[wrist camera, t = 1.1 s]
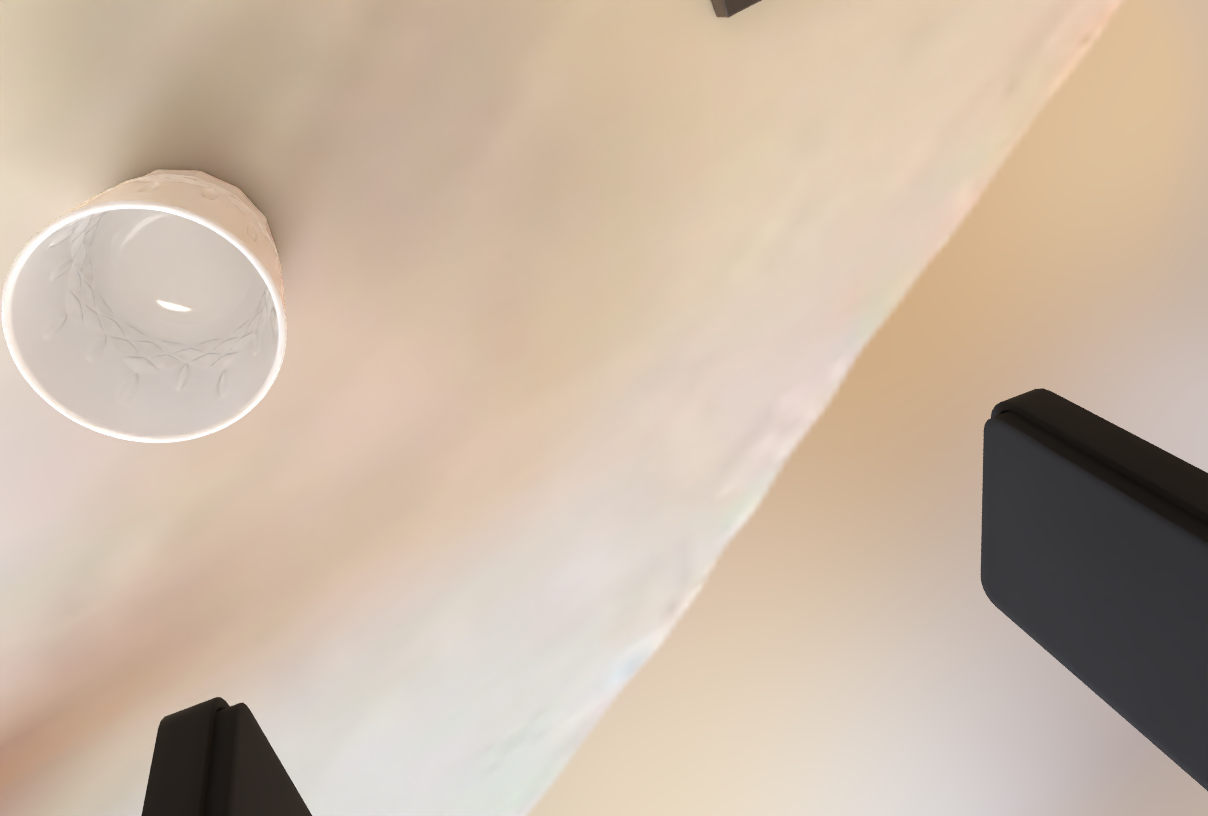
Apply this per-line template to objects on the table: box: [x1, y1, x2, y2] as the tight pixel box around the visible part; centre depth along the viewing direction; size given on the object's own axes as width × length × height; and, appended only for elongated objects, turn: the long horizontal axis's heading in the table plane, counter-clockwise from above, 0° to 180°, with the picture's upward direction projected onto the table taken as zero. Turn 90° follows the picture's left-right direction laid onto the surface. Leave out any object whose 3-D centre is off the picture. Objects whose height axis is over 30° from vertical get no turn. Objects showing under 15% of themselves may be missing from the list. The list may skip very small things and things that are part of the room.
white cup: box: [1, 169, 287, 443], centre depth 31 cm, size 8×8×10 cm
